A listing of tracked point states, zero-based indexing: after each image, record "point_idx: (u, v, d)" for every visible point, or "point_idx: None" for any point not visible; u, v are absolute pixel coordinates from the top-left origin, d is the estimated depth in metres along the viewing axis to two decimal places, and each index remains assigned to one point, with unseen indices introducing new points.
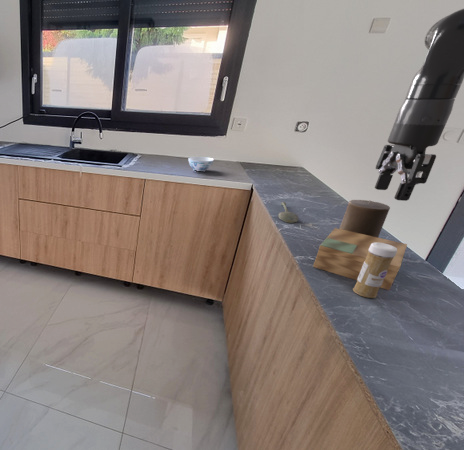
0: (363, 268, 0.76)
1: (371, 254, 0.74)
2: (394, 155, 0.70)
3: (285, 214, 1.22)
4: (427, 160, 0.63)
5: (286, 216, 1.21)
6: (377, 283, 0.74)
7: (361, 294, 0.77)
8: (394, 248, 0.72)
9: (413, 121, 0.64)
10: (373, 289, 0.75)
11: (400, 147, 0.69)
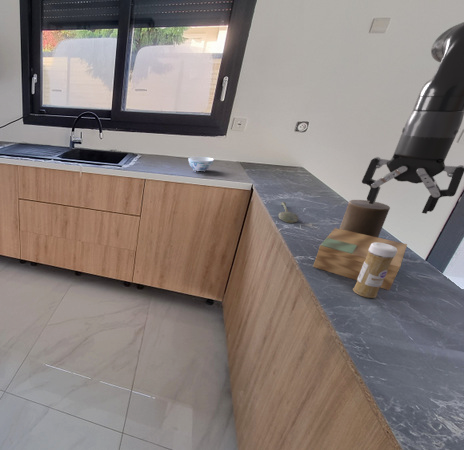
0: (363, 268, 0.76)
1: (371, 254, 0.74)
2: (407, 169, 0.66)
3: (285, 214, 1.22)
4: None
5: (286, 216, 1.21)
6: (377, 283, 0.74)
7: (361, 294, 0.77)
8: (394, 248, 0.72)
9: (448, 134, 0.60)
10: (373, 289, 0.75)
11: (410, 160, 0.66)
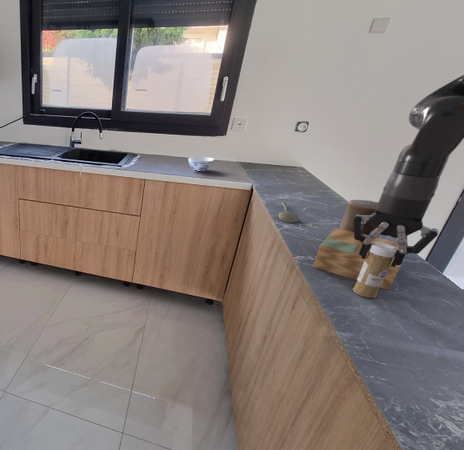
0: (363, 268, 0.76)
1: (371, 254, 0.74)
2: (388, 225, 0.70)
3: (285, 214, 1.22)
4: None
5: (286, 216, 1.21)
6: (377, 283, 0.74)
7: (361, 294, 0.77)
8: (394, 248, 0.72)
9: (425, 197, 0.64)
10: (373, 289, 0.75)
11: (391, 217, 0.70)
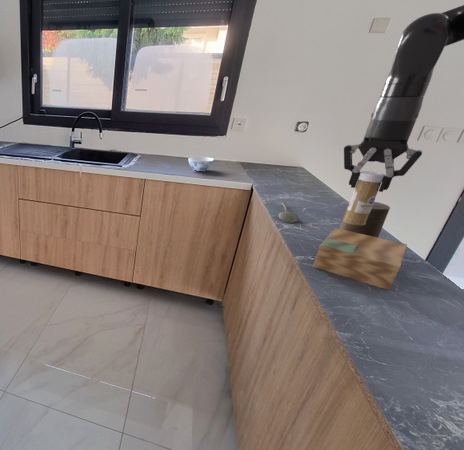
0: (353, 197, 0.80)
1: (360, 181, 0.77)
2: (376, 150, 0.74)
3: (285, 214, 1.22)
4: (419, 156, 0.70)
5: (286, 216, 1.21)
6: (366, 209, 0.78)
7: (351, 222, 0.80)
8: (382, 174, 0.75)
9: (410, 117, 0.68)
10: (362, 216, 0.79)
11: (379, 142, 0.73)
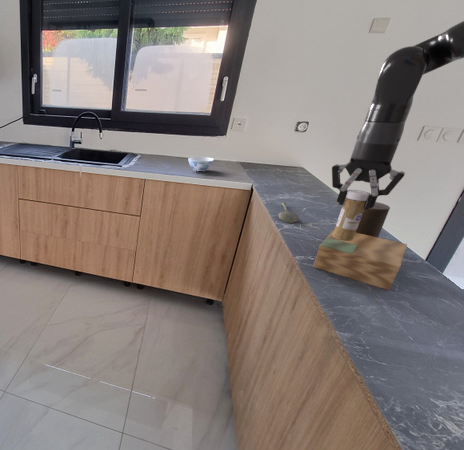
0: (341, 213, 0.84)
1: (347, 199, 0.81)
2: (361, 171, 0.78)
3: (285, 214, 1.22)
4: (402, 177, 0.74)
5: (286, 216, 1.21)
6: (353, 226, 0.82)
7: (339, 238, 0.84)
8: (367, 192, 0.79)
9: (392, 141, 0.72)
10: (349, 232, 0.83)
11: (364, 163, 0.78)
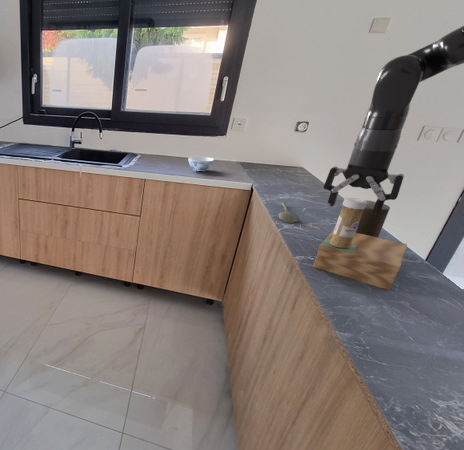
0: (338, 221, 0.84)
1: (344, 208, 0.82)
2: (358, 177, 0.79)
3: (285, 214, 1.22)
4: (402, 179, 0.74)
5: (286, 216, 1.21)
6: (350, 234, 0.83)
7: (336, 245, 0.85)
8: (364, 201, 0.80)
9: (389, 149, 0.73)
10: (346, 239, 0.84)
11: (361, 170, 0.78)
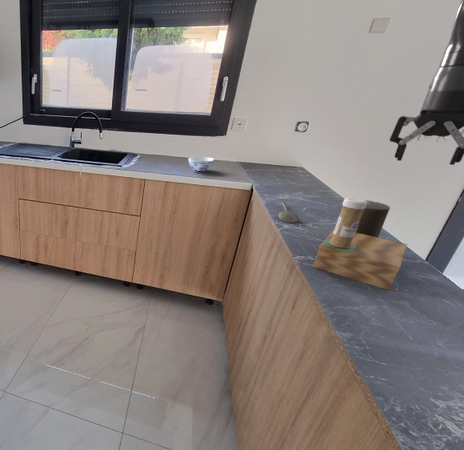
0: (338, 221, 0.84)
1: (344, 208, 0.82)
2: (434, 124, 0.71)
3: (285, 214, 1.22)
4: None
5: (286, 216, 1.21)
6: (350, 234, 0.83)
7: (336, 245, 0.85)
8: (364, 201, 0.80)
9: None
10: (346, 239, 0.84)
11: (438, 115, 0.70)
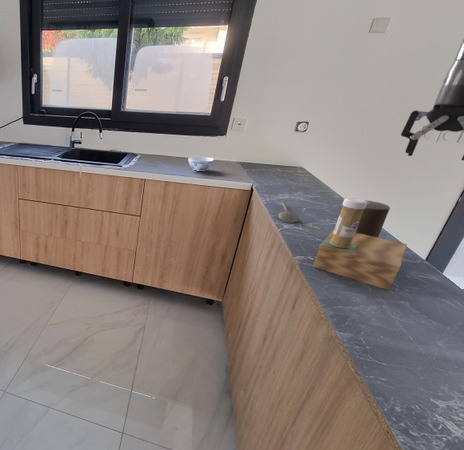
0: (338, 221, 0.84)
1: (344, 208, 0.82)
2: (448, 118, 0.70)
3: (285, 214, 1.22)
4: None
5: (286, 216, 1.21)
6: (350, 234, 0.83)
7: (336, 245, 0.85)
8: (364, 201, 0.80)
9: None
10: (346, 239, 0.84)
11: (451, 110, 0.69)
